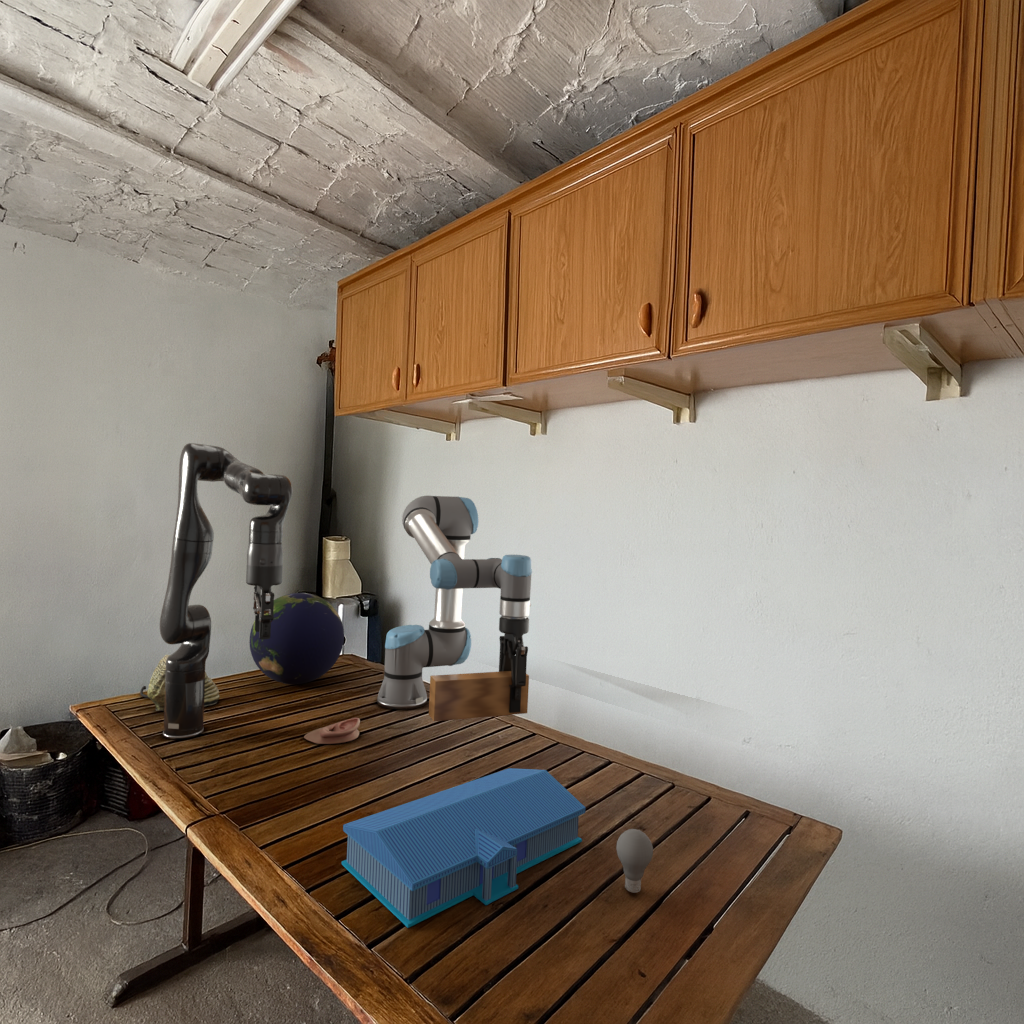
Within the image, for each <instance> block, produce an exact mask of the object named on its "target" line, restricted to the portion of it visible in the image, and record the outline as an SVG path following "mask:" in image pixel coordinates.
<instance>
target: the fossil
mask: <svg viewBox="0 0 1024 1024" xmlns="http://www.w3.org/2000/svg"><path fill="white" fill-rule="evenodd" d="M170 655H171V654H165V655H164V656H163V657H162V658H161V659H160V660H159V662H158V663H157V666H156V667H155V669H154V670H153V672H152V675H151V677H150V680H149V684H148V688H147V694H146V695H148V697H149V698H148V699H149V700H150V701H152V703H153V704H154V706H155V711H158V712H159V711H162V712H163V711H164V705H165V674H166V660H167V658H168V657H169V656H170ZM220 698H221V696H220V690H219V688H218V686H217V685H216V683H215V682H214V681H213V679H212V678H211V677H209V675H208V674H207V672H206V671H205V693H204V707H207V706H213V705H215V704H217V703H218V701H219V699H220Z"/></svg>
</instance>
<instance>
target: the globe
mask: <svg viewBox="0 0 1024 1024" xmlns="http://www.w3.org/2000/svg"><path fill="white" fill-rule="evenodd" d="M264 615H269V614H268V613H266V614H264ZM273 616H274V619H273V620H272V622H271V635H270V639H263V640H262V639H260V638H259V632H256V631H255V620H254V621H253V623H252V626H251V628H250V633H249V642H248V643H249V651H250V655H251V658H252V660H253V662H254V663H255V665H256V667H257V668H258V669H259V670H260V672H261V673H263V674H264V675H265V676H266V677H267V678H268V679H271V680H273V681H275V682H278V683H280V684H284V685H290V686H291V685H304V684H307V683H311V682H313V681H316V680H317V679H319V678H321V677H322V676H324V675H325V674H326V673H328V672H329V671H330V670H331V669H332V668H333V667H334V665H336V662H337V661H338V660H339V657H340V656H341V653H342V650H343V647H344V642H345V629H344V625H343V621H342V618H341V616H340V614H339V613H338V612H337V610H336V609H335V607H334V606H333V605H332V604H331V603H329V602H328V601H327V600H325V599H323V598H322V597H320V596H318V595H315V594H311V593H308V592H307V593H306V592H293V593H288V594H284V595H281V596H279V597H276V598H274V612H273Z"/></svg>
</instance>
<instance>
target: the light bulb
mask: <svg viewBox="0 0 1024 1024" xmlns="http://www.w3.org/2000/svg"><path fill="white" fill-rule="evenodd" d="M615 849H616V854H617V857H618V859H619V861H620V863H621V865H622V867H623V873H624V874H623V875H624V876H625V878H624V888H625V890H627V891H628V892H630V893H634V894H635V893H639V892H640V891H641V889H642V887H641V886H642V879H643V877H644V875H645V871H646V868H647V867H648V866H649V864H650V863H651V861H652V859H653V855H654V847H653V843H652V841H651V838H649V836H648V835H647V834H646V833H645V832H643V831H642V830H641V829H636V828H629V829H627V830H625V831H623V832H622V833H621V834H620V835H619V837H618V839H617V841H616V847H615Z"/></svg>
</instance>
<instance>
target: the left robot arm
mask: <svg viewBox="0 0 1024 1024" xmlns="http://www.w3.org/2000/svg"><path fill="white" fill-rule="evenodd" d="M199 481H201V482H212V483H215V482H223V483H224V484H225V486H226V488H228V489H230V490H231V491H233V492H234V493H237V494H238V495H240V496H241V498H242V500H243V501H244V502H245V503H247V504H249V505H252V506H269V508H268V510H267V511H266V512H265V514H262V515H256V516H253V517H252V518H250V520H249V528H248V545H247V551H246V571H245V572H246V574H245V575H246V576H245V583H246V584H247V585H249V586H253V593H252V598H253V602H252V606H253V607H252V609H253V614H254V621H255V631H256V632H259V638H260V639H262V640H263V639H270V635H271V622H272V620H273V619H274V616H273V612H274V600H275V592H273V591H272V587H273V586H279V585H281V584H282V583H283V569H284V568H283V565H284V563H283V562H284V549H283V531H284V530H283V529H284V523H285V520H286V516H287V513H288V509H289V507H290V504H291V500H292V498H293V493H294V492H293V490H294V489H293V485H292V482H291V480H290V478H288V477H287V476H286V475H284V474H273V473H271V474H270V473H264V472H263V471H262V470H260V469H259V468H257V467H255V466H252V465H251V464H250V465H249V464H247V463H244V462H242V461H240V460H239V459H238V458H237V457H236V456H234V455H233V454H232V453H231V452H229V451H228V450H227V449H226V448H224V447H221V446H217V445H211V444H204V443H203V444H202V443H195V442H188V443H186V444H185V445H184V446H183V448H182V450H181V451H180V456H179V465H178V488H177V489H178V491H177V508H176V517H175V523H174V530H173V537H172V545H171V555H170V556H171V557H170V566H169V573H168V579H167V585H166V590H165V595H164V600H163V603H162V608H161V613H160V617H159V634H160V637H161V639H162V641H164V643H166V644H168V645H179V644H180V646H179V647H178V648H177V650H175V651H174V652H173V653H172V654H171V653H170V654H169V655H170V656H169V657H168V658H167V660H166V674H165V705H164V710H163V731H162V737H164V738H166V739H169V740H185V739H190V738H191V739H192V738H194V737H197V736H199V735H202V734H203V732H204V730H205V729H204V722H205V721H204V718H205V706H204V693H205V672H206V664H207V663H206V662H207V659H208V657H209V653H210V647H211V636H212V635H211V634H212V617H211V614H210V612H209V610H208V609H207V607H206V606H205V605H202V604H190V600H191V595H192V591H193V589H194V587H195V585H196V584H197V582H198V581H199V579H200V578H201V576H202V575H203V573H204V572H205V570H206V568H207V567H208V565H209V563H210V561H211V559H212V556H213V555H212V553H213V547H214V537H215V532H214V529H213V526H212V524H211V522H210V520H209V518H208V516H207V515H206V513H205V511H204V508H203V507H202V505H201V502H200V499H199V493H198V482H199ZM189 604H190V605H189ZM266 613H268V614H269V615H264V614H266ZM146 690H147V686H146V685H143V686H142V687H141V689H140V693H139V694H140V696H141V697H143V698H147V699H150V698H149V697H148V695H147V694H145V693H144V691H146Z"/></svg>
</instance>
